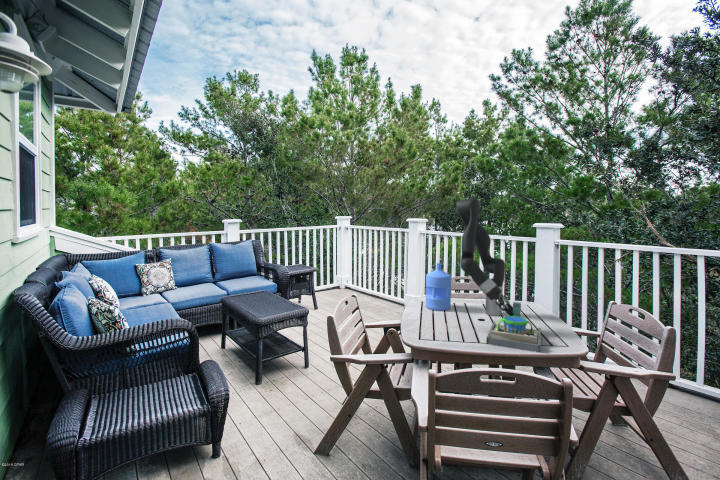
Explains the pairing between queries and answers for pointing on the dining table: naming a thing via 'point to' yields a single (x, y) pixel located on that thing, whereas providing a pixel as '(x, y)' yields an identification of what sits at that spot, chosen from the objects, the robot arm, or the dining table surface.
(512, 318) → the snack cup
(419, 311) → the dining table surface
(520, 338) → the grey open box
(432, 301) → the water jug
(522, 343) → the rectangular frame
